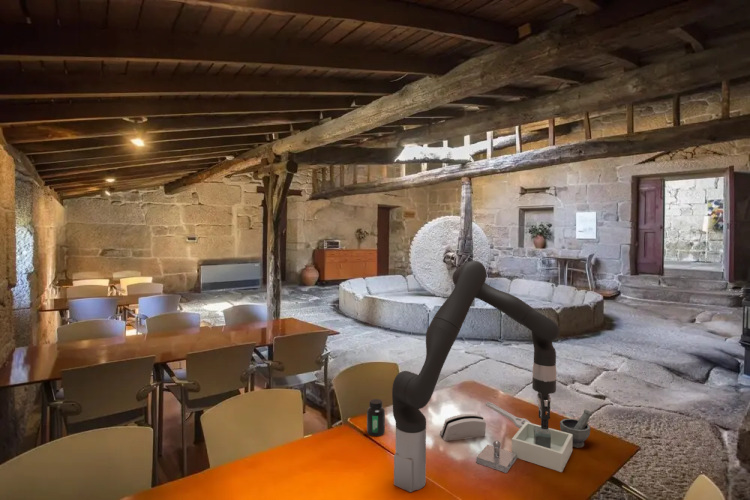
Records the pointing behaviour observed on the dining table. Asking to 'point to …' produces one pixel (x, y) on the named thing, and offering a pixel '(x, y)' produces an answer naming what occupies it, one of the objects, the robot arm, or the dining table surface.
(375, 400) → the supplement bottle
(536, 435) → the grey rectangular block
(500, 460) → the stud plate
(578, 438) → the mortar and pestle
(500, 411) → the adjustable wrench
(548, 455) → the bin
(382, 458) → the dining table surface
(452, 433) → the napkin holder
